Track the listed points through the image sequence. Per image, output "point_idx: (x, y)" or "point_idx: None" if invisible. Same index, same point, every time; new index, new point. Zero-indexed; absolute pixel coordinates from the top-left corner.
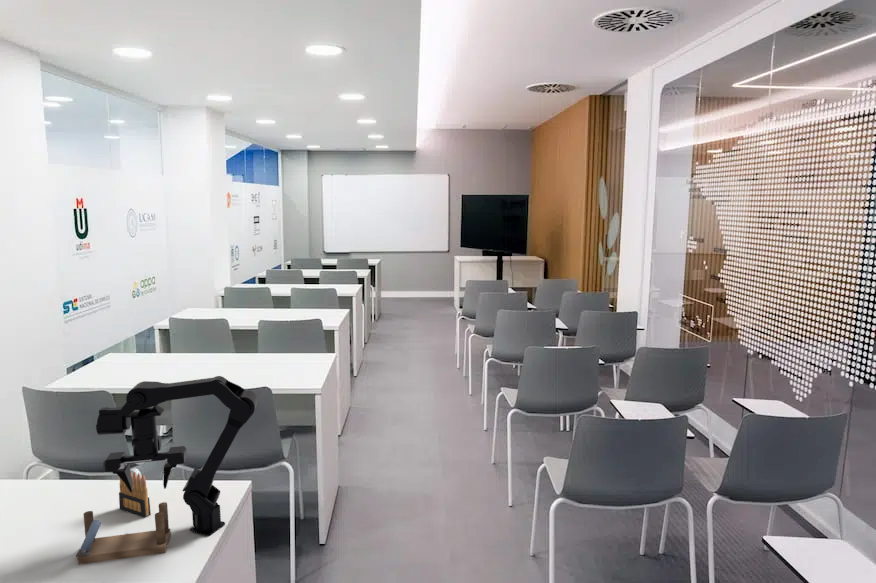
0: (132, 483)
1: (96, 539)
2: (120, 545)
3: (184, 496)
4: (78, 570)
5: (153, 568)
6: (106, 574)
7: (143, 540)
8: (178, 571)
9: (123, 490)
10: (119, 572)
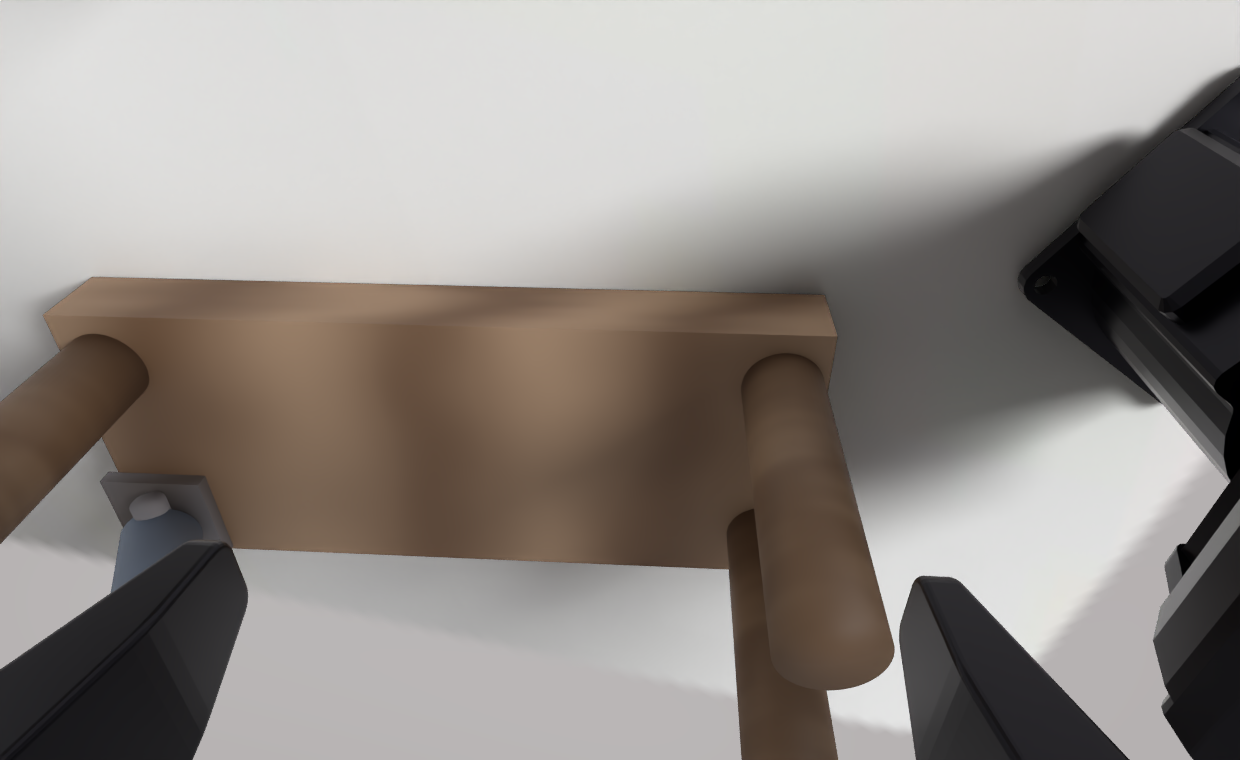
0: (122, 681)
1: (141, 344)
2: (423, 487)
3: (1203, 755)
4: (233, 551)
5: (722, 644)
6: (442, 625)
7: (603, 468)
8: (875, 699)
9: None
10: (516, 628)
